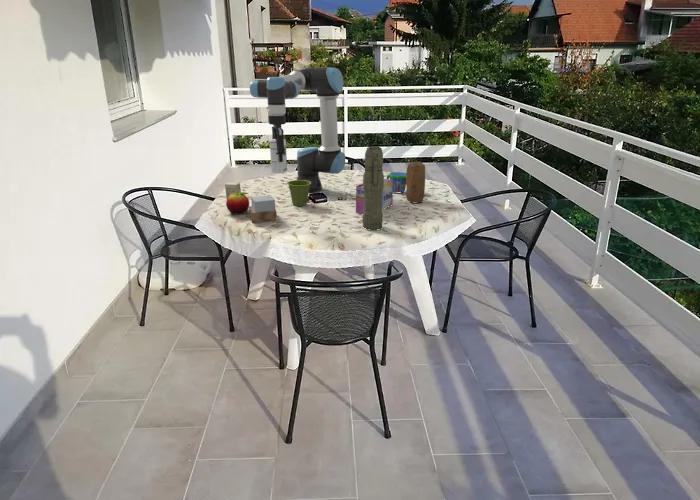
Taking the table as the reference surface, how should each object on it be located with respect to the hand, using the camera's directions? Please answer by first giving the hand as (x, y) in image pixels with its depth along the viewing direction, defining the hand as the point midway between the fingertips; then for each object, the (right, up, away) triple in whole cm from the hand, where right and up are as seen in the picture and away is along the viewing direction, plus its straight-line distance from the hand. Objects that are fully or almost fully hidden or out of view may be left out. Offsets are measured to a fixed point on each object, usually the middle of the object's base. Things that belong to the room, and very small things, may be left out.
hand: (278, 167), depth 234 cm
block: (+65, -12, +36) cm, 75 cm away
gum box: (+44, -18, +22) cm, 52 cm away
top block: (-8, -18, +5) cm, 20 cm away
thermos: (+42, -27, -5) cm, 50 cm away
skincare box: (-25, -17, +23) cm, 38 cm away
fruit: (-21, -20, +15) cm, 33 cm away
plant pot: (+7, -14, +29) cm, 33 cm away
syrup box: (0, -2, +1) cm, 2 cm away
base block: (-8, -23, +7) cm, 25 cm away
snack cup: (+58, -5, +54) cm, 79 cm away
